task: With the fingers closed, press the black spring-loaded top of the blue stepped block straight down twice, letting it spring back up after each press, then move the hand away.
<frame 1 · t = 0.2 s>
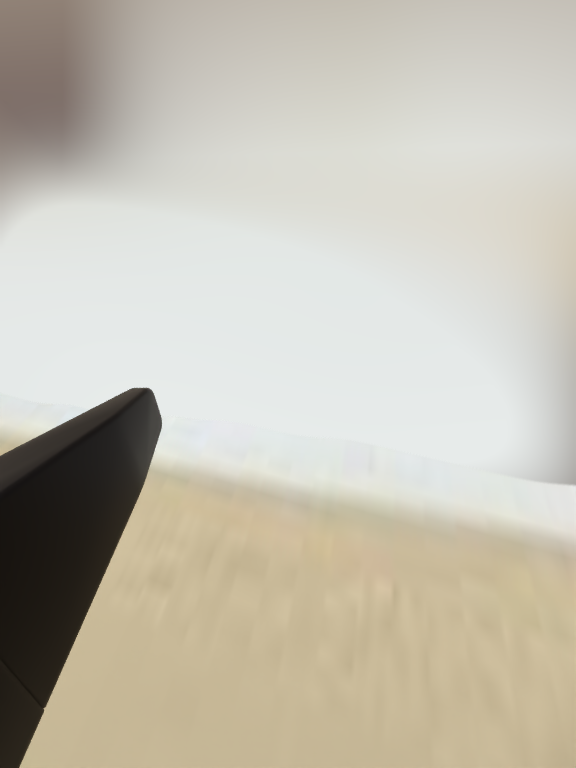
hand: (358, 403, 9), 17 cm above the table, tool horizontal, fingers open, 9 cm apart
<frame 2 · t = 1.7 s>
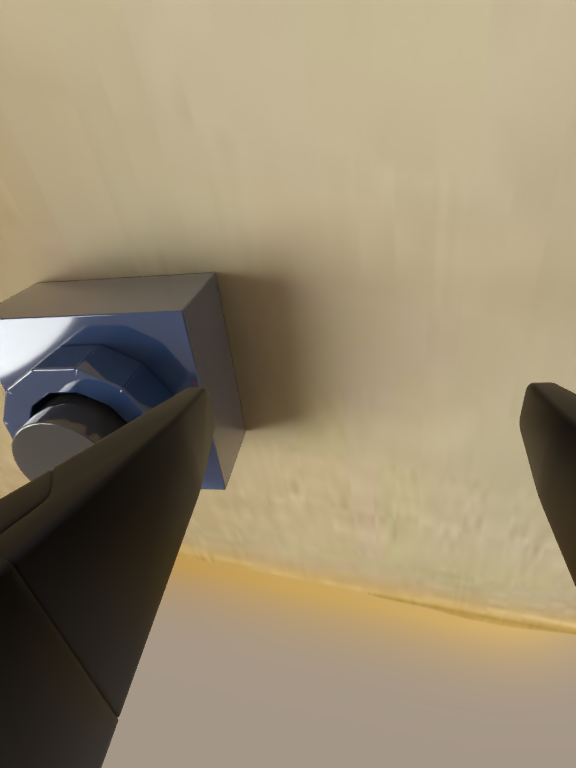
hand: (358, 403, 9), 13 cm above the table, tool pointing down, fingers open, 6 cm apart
blue stepped block: (148, 362, 25), on the table
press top: (77, 449, 19), point 8 cm above the table, slide at 0.1 cm
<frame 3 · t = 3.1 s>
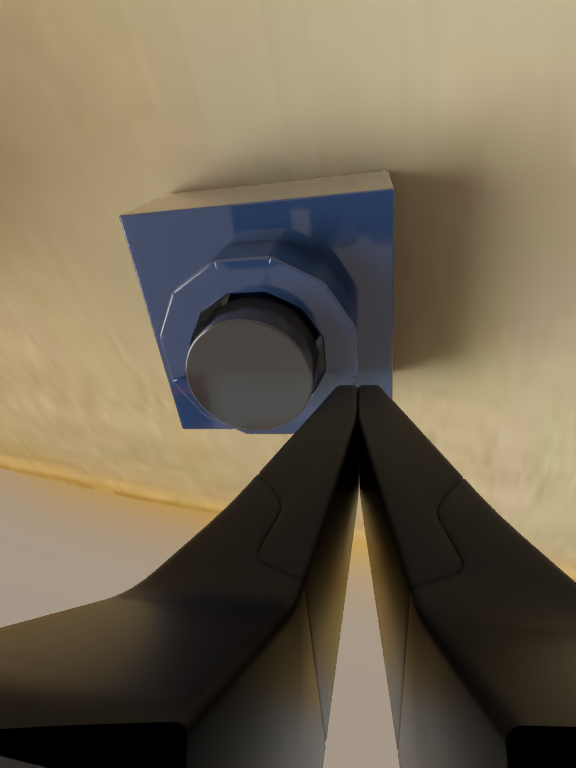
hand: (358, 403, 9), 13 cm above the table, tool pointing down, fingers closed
blue stepped block: (285, 290, 22), on the table
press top: (253, 365, 16), point 8 cm above the table, slide at 0.1 cm
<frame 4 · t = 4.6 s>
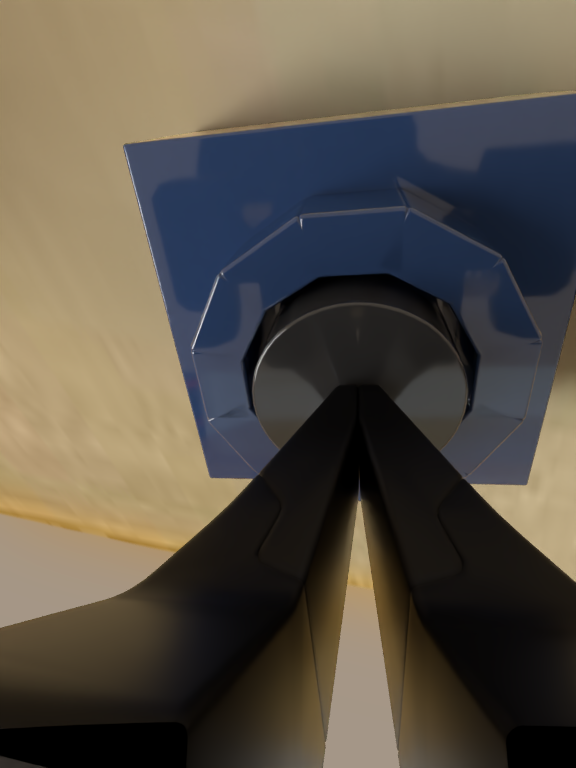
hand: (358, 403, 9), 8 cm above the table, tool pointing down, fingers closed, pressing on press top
blue stepped block: (356, 279, 15), on the table
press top: (356, 377, 10), point 7 cm above the table, slide at -0.9 cm, touching gripper
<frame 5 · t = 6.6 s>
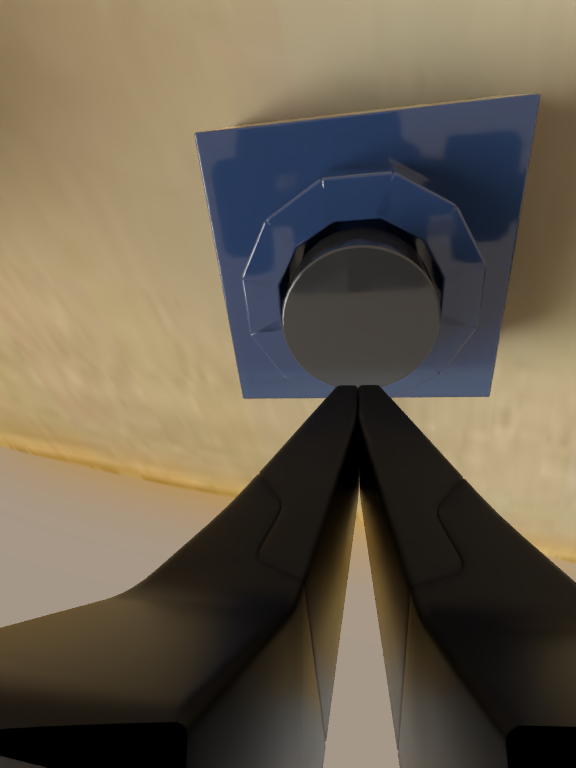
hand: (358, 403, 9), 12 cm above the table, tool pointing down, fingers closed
blue stepped block: (358, 243, 19), on the table
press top: (358, 310, 13), point 8 cm above the table, slide at 0.1 cm
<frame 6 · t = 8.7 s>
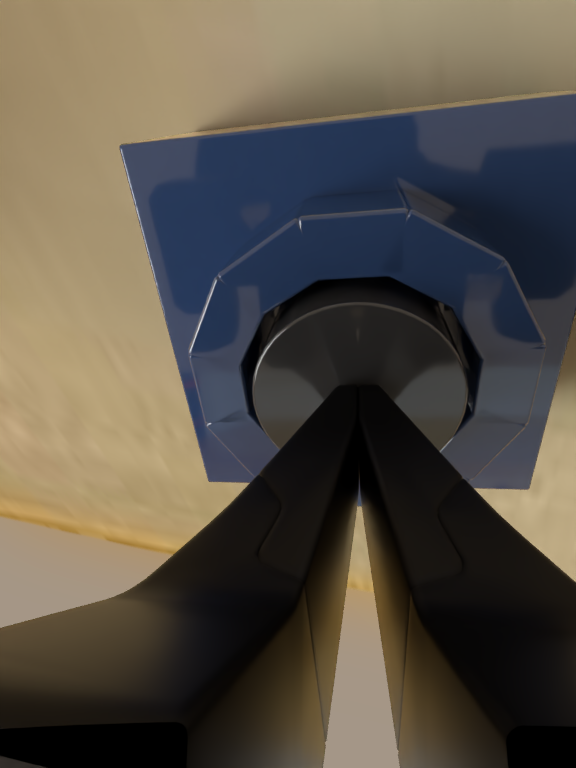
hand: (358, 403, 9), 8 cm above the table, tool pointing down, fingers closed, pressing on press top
blue stepped block: (356, 280, 15), on the table
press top: (356, 377, 10), point 6 cm above the table, slide at -1.0 cm, touching gripper
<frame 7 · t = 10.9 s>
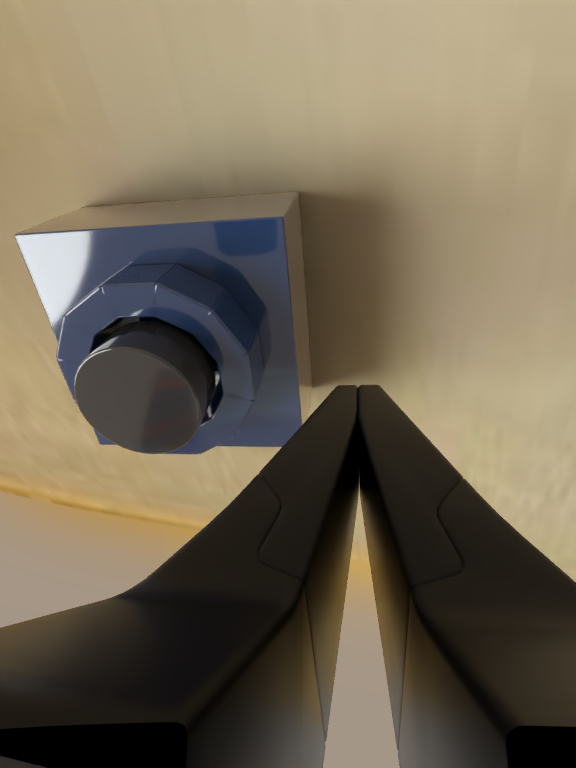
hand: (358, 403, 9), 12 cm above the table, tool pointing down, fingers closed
blue stepped block: (207, 305, 22), on the table
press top: (148, 388, 16), point 8 cm above the table, slide at 0.1 cm
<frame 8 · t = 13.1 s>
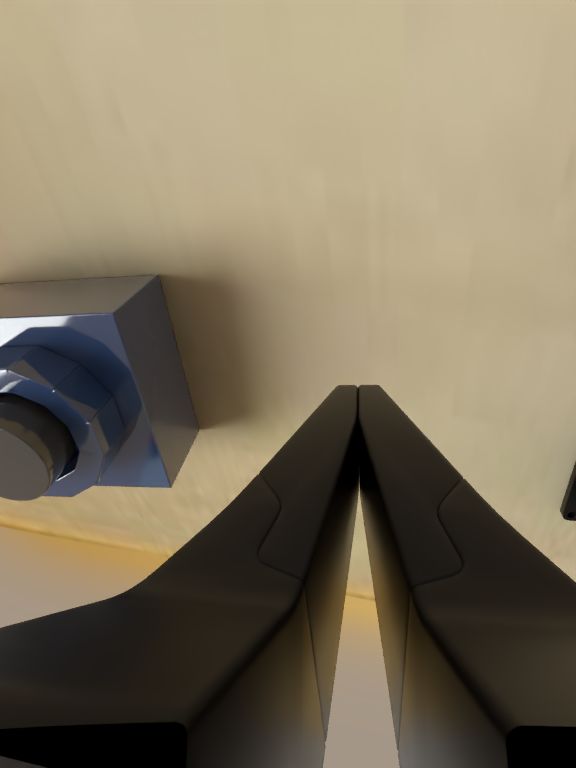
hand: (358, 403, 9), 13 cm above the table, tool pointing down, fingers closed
blue stepped block: (100, 362, 26), on the table
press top: (14, 448, 19), point 8 cm above the table, slide at 0.1 cm
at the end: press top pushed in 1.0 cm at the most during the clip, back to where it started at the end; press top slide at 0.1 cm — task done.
